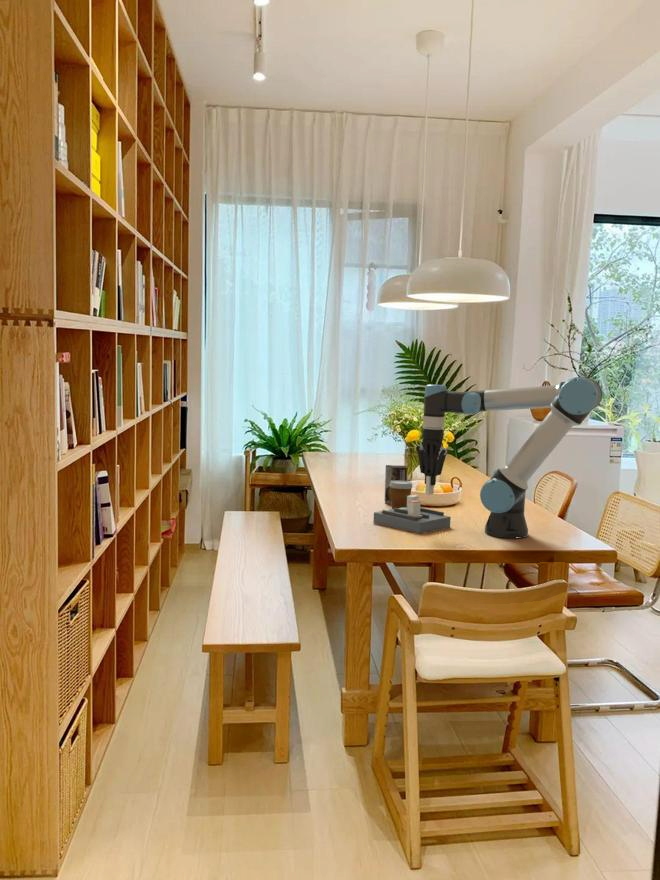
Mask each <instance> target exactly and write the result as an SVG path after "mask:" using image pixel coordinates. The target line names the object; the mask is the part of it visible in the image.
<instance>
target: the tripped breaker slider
mask: <svg viewBox="0 0 660 880" xmlns="http://www.w3.org/2000/svg"><path fill="white" fill-rule="evenodd" d="M420 507H421V500H419V501H417V500H413V501H408V515H410V516H414V517H418V518H420V517H422V515H420Z"/></svg>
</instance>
